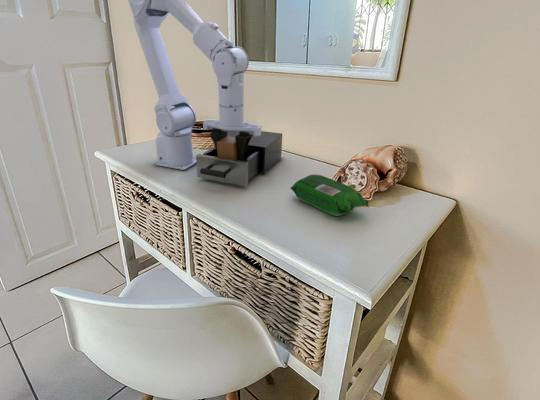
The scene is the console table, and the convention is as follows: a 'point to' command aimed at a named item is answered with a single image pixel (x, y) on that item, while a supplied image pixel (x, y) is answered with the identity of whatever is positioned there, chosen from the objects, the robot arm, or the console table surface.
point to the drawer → (229, 166)
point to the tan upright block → (227, 148)
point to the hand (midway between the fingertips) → (231, 160)
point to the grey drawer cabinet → (265, 148)
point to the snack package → (328, 194)
